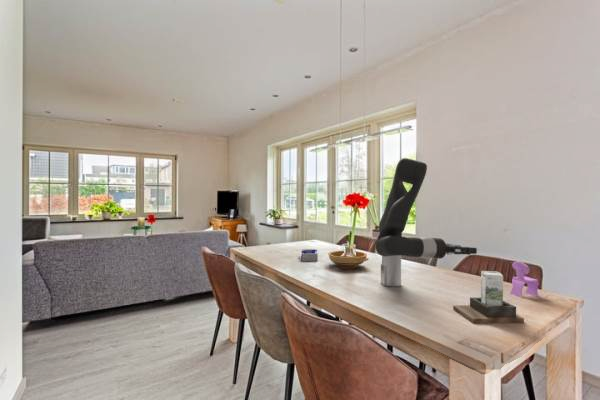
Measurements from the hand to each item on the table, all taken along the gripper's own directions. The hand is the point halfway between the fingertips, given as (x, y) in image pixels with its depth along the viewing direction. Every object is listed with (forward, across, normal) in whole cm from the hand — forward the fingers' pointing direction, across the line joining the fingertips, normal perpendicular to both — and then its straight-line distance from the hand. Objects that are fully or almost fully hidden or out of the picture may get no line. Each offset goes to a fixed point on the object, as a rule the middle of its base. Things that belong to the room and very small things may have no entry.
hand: (467, 249), depth 115 cm
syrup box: (+8, -3, +22) cm, 24 cm away
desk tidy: (-34, +112, +19) cm, 119 cm away
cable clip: (-35, +112, +19) cm, 119 cm away
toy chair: (+42, +14, +20) cm, 48 cm away
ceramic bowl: (-16, +83, +20) cm, 87 cm away
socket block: (+6, -3, +24) cm, 25 cm away
